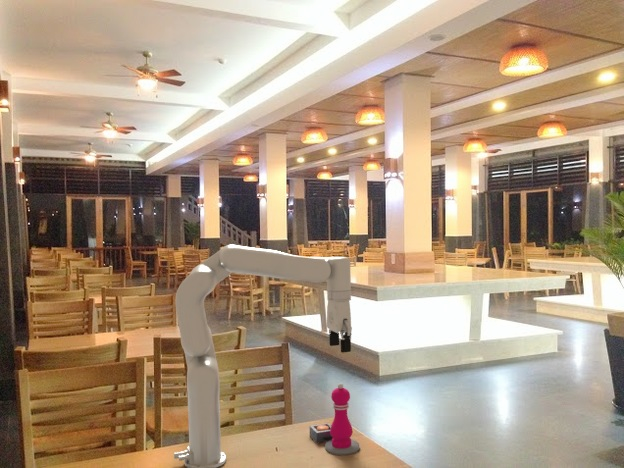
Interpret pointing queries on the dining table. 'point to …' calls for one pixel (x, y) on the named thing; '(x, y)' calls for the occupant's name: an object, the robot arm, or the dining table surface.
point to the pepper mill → (341, 418)
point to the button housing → (320, 433)
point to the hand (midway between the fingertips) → (339, 348)
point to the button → (322, 428)
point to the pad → (345, 451)
